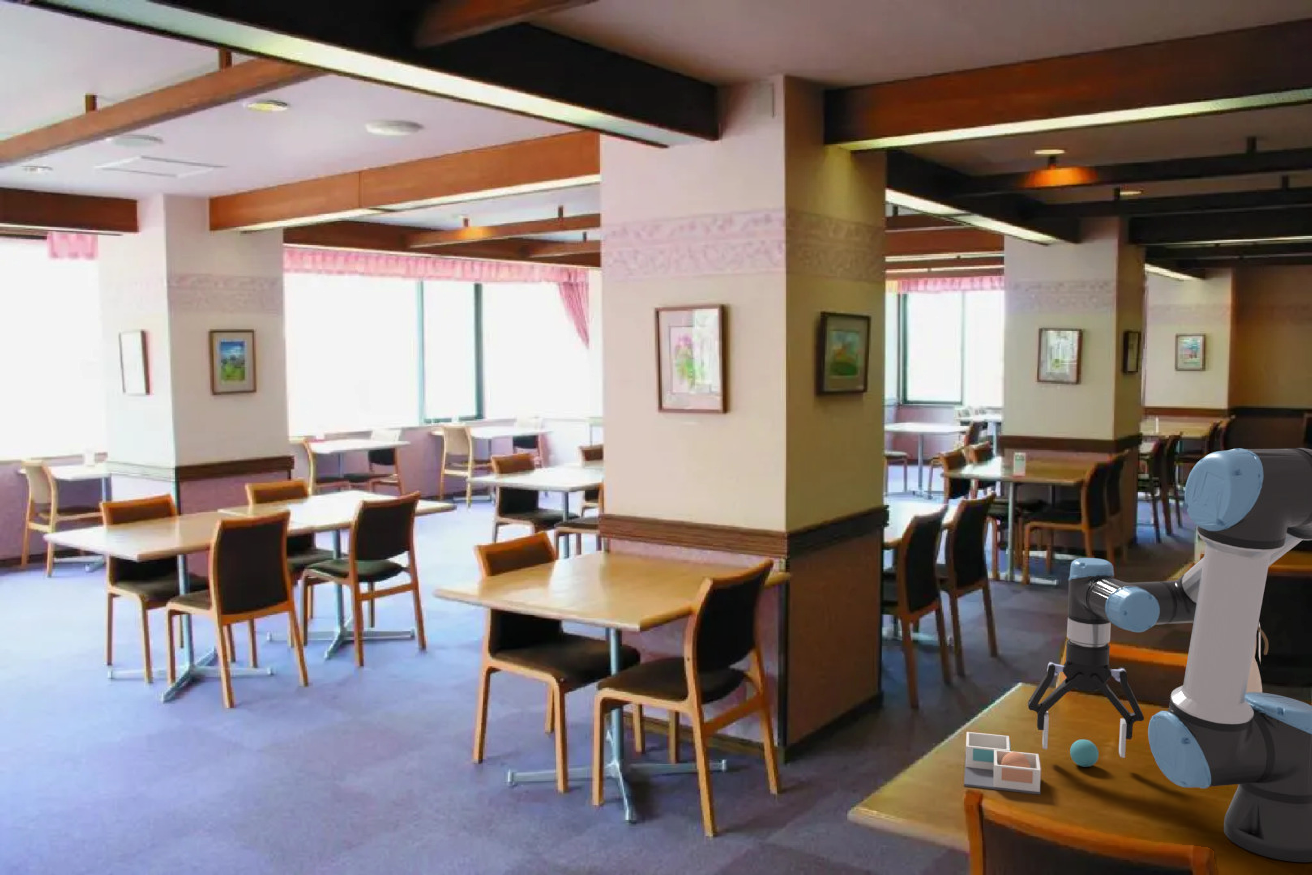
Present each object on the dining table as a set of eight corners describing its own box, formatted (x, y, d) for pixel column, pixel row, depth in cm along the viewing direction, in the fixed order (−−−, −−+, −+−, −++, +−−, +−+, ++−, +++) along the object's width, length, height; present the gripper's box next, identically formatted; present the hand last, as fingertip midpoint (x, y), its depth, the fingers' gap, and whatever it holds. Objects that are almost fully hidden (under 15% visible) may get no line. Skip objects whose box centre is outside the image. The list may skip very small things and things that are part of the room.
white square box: (1041, 794, 192) (1041, 770, 191) (993, 789, 194) (994, 765, 194) (1038, 777, 200) (1039, 754, 199) (993, 772, 202) (993, 749, 201)
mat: (1040, 794, 192) (1040, 792, 192) (964, 785, 196) (964, 783, 196) (1036, 760, 207) (1036, 758, 207) (965, 753, 211) (965, 751, 211)
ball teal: (1099, 772, 202) (1100, 746, 201) (1070, 769, 203) (1071, 743, 203) (1096, 762, 206) (1097, 736, 206) (1068, 759, 208) (1069, 734, 207)
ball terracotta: (1030, 783, 194) (1030, 754, 195) (1000, 780, 195) (1001, 751, 196) (1028, 780, 199) (1029, 752, 199) (1000, 777, 200) (1001, 749, 201)
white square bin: (1010, 774, 201) (1010, 751, 201) (965, 769, 203) (965, 746, 203) (1009, 758, 209) (1009, 735, 208) (966, 753, 211) (966, 731, 210)
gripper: (1157, 641, 203) (1151, 750, 205) (1017, 630, 210) (1013, 735, 212) (1164, 653, 196) (1157, 766, 198) (1018, 641, 203) (1014, 750, 205)
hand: (1082, 750), depth 205 cm, fingers open, 13 cm apart
